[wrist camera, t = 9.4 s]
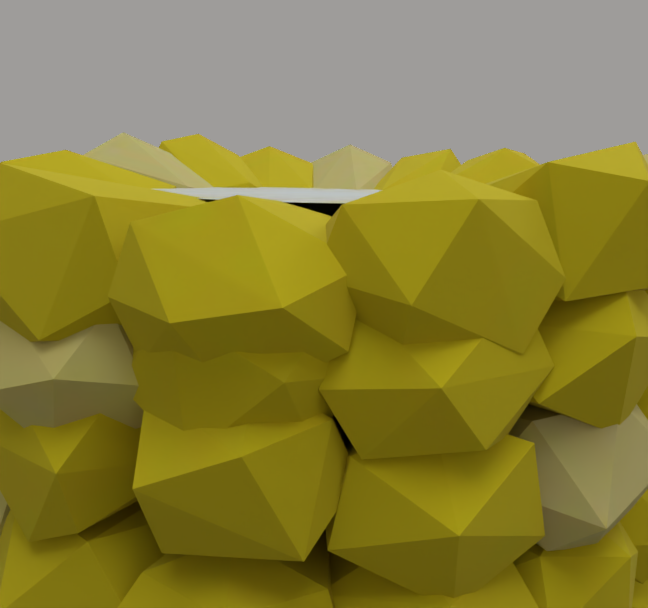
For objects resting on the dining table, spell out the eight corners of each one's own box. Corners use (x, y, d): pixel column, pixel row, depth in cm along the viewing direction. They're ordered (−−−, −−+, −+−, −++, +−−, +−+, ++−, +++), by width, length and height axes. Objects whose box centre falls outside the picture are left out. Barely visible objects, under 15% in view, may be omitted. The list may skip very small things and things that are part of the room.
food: (-65, 1381, 8) (202, 694, 17) (1014, 1647, 5) (636, 682, 15) (-841, 250, 4) (35, 169, 14) (1353, -426, 2) (571, 43, 11)
